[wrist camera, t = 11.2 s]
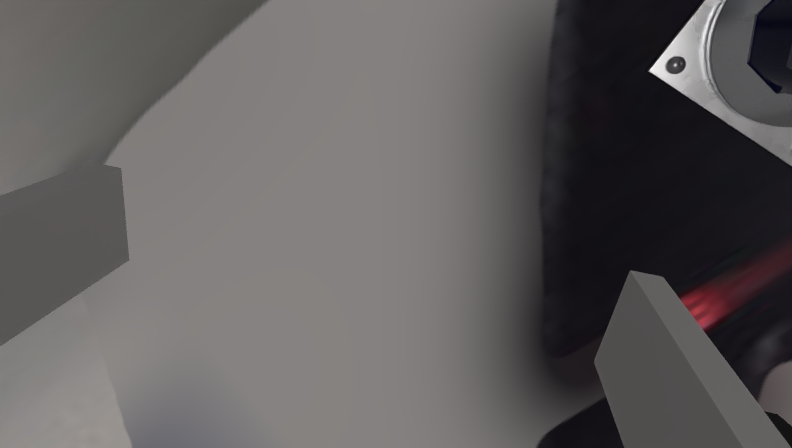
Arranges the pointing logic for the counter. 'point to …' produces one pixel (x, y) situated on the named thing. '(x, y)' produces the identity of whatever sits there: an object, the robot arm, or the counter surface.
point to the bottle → (773, 45)
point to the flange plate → (727, 73)
